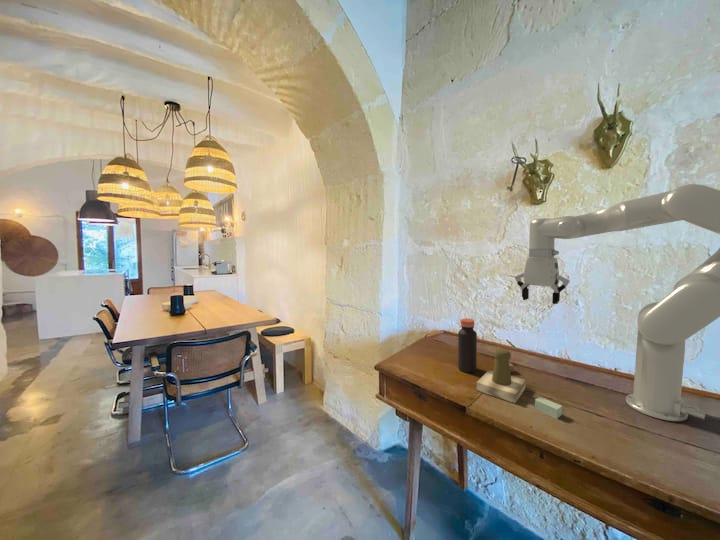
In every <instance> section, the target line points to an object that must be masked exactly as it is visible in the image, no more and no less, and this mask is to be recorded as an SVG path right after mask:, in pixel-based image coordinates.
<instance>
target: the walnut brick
mask: <svg viewBox="0 0 720 540" xmlns="http://www.w3.org/2000/svg"><path fill="white" fill-rule="evenodd" d="M494 364H495V362H494ZM509 366H510V374H515V373H514V370H515V365H514V364H512V363H511V362H509Z"/></svg>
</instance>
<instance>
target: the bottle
mask: <svg viewBox="0 0 720 540" xmlns="http://www.w3.org/2000/svg"><path fill="white" fill-rule="evenodd" d="M460 327H461V329H460V330H459V331H458V332H457V333H458V335H457V336H458V339H457V341H458V345H457V346H458V349H457V351H458V353H457V356H458V357H457V358H458V359H457V360H458V361H457V362H458V363H457V365H458V369H459V371H461V372H463V373H468V374H472V373H475V372H477V361H478V360H477V359H478V358H477V355H478V352H477V351H478V349H477V347H478V345H477V343H478V341H477V339H478V338H477V337H478V335H477V332H476V330H475V329H474V328H475V320H474V319H472V318H461V319H460Z"/></svg>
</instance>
